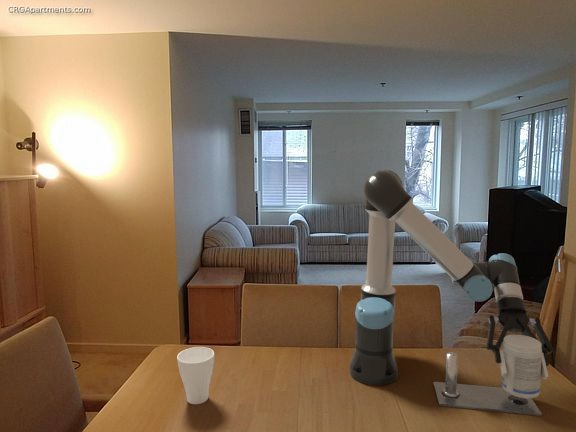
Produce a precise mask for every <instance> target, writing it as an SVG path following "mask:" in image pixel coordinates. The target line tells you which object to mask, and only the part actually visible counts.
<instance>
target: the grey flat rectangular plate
mask: <svg viewBox="0 0 576 432" xmlns="http://www.w3.org/2000/svg"><path fill="white" fill-rule="evenodd" d="M433 386H434V387H433V388H434V391H435V395H436V400H437V403H438V406H439V407H449V408H457V409H458V408H459V409H469V410H479V411H489V412H499V413H511V414H519V415H529V416H540V417H543V416H542V412H541V411H540V409H539V407H538V406H537V405H536V403H535V402H534V400H533V398H530V399H526V398H520V397H516V396H513V395H511V394H509V393H507V392H506V391H505V390H504V389H503V388H502V387H500V386H499V387H497V386H488V385H486V386H485V385H484V386H483V385H475V384H464V383H463V384H462V383H457V386H456V390H457V391H458V392H459V396H458V397H455V398H451V397H447V396H445V395H444V394H443V389H444V388H445V382H441V381H440V382H439V381H433Z"/></svg>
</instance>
